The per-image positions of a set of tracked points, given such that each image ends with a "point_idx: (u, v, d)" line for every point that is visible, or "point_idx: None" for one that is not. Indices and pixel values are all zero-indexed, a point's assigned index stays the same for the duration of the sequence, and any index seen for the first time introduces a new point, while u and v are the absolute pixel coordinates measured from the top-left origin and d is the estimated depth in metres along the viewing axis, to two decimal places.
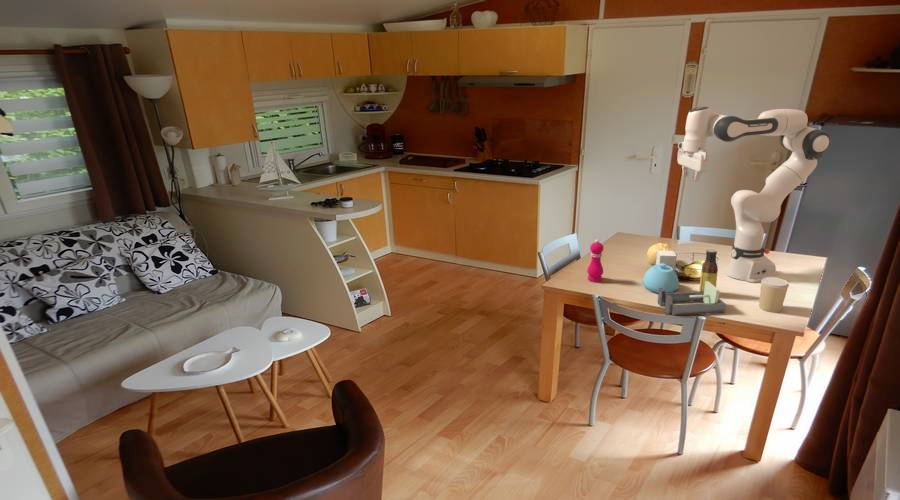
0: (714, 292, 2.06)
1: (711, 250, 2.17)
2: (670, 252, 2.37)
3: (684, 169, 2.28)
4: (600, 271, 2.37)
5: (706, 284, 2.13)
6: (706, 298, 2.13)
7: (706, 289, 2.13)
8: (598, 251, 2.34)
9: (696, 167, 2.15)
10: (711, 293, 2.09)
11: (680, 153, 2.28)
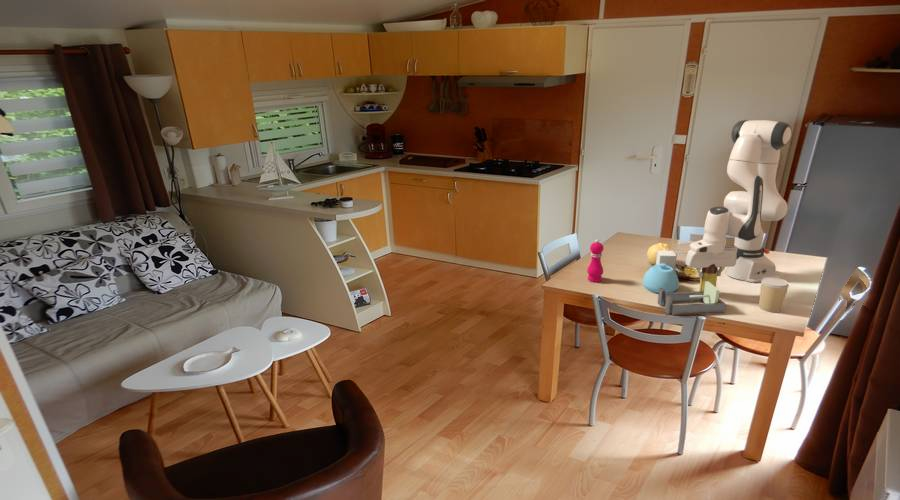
0: (714, 292, 2.06)
1: None
2: (670, 252, 2.37)
3: None
4: (600, 271, 2.37)
5: (706, 284, 2.13)
6: (706, 298, 2.13)
7: (706, 289, 2.13)
8: (598, 251, 2.34)
9: (730, 263, 2.17)
10: (711, 293, 2.09)
11: (696, 257, 2.15)
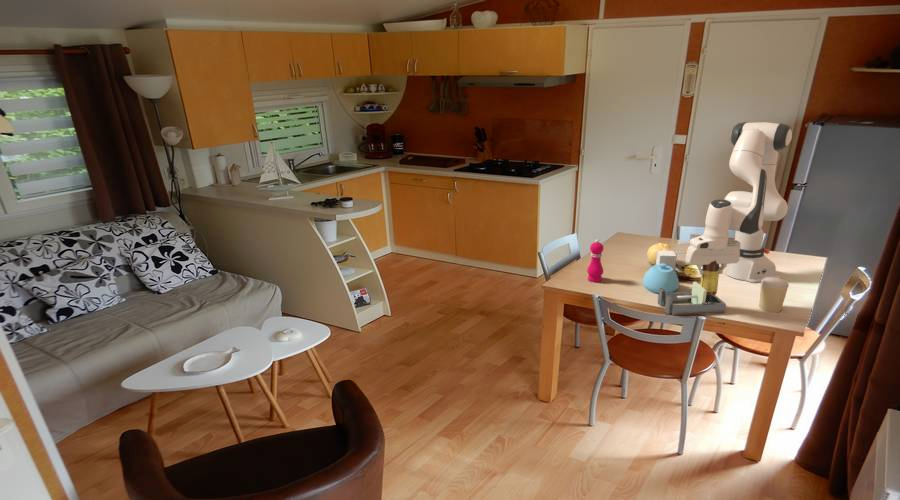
0: (702, 292, 2.06)
1: None
2: (670, 252, 2.37)
3: None
4: (600, 271, 2.37)
5: (694, 285, 2.13)
6: (694, 299, 2.13)
7: (694, 289, 2.13)
8: (598, 251, 2.34)
9: (733, 259, 2.03)
10: (698, 294, 2.09)
11: (697, 253, 2.02)
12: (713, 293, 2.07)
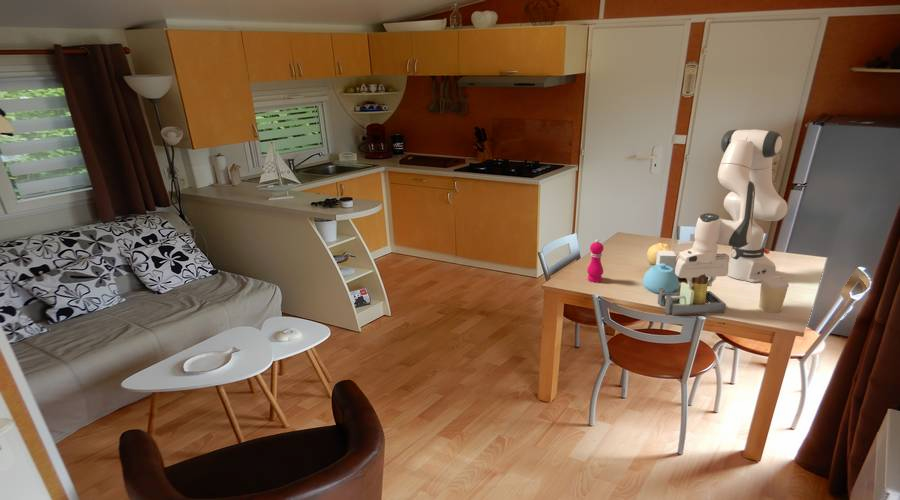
0: (689, 293, 2.06)
1: None
2: (670, 252, 2.37)
3: None
4: (600, 271, 2.37)
5: (682, 285, 2.13)
6: (682, 299, 2.13)
7: (682, 290, 2.12)
8: (598, 251, 2.34)
9: (721, 272, 2.05)
10: (686, 294, 2.09)
11: (686, 266, 2.04)
12: None
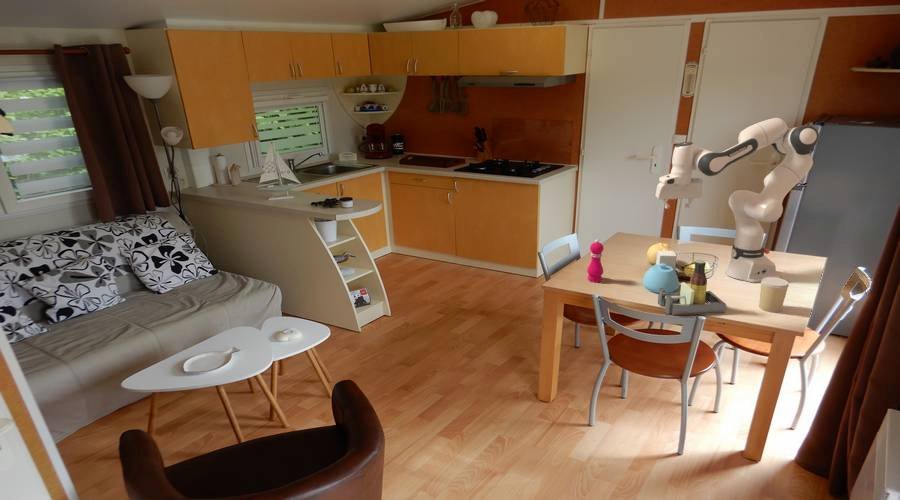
0: (690, 293, 2.06)
1: (700, 261, 2.06)
2: (670, 252, 2.37)
3: None
4: (600, 271, 2.37)
5: (682, 285, 2.13)
6: (682, 299, 2.13)
7: (682, 290, 2.12)
8: (598, 251, 2.34)
9: (696, 194, 2.35)
10: (687, 294, 2.09)
11: (664, 189, 2.34)
12: None
